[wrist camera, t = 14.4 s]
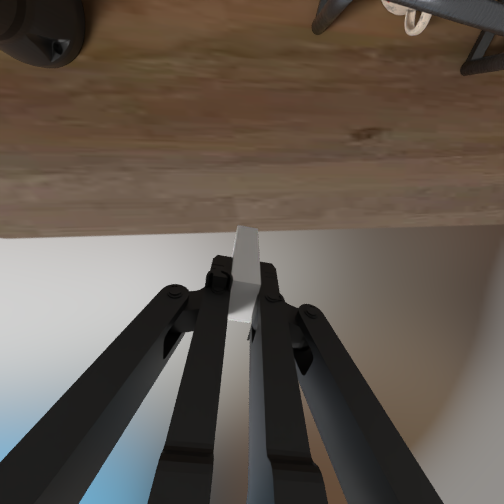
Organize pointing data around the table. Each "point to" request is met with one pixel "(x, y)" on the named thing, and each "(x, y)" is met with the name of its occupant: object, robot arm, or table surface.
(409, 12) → the teacup with lid
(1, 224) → the table surface
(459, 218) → the table surface
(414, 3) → the box
